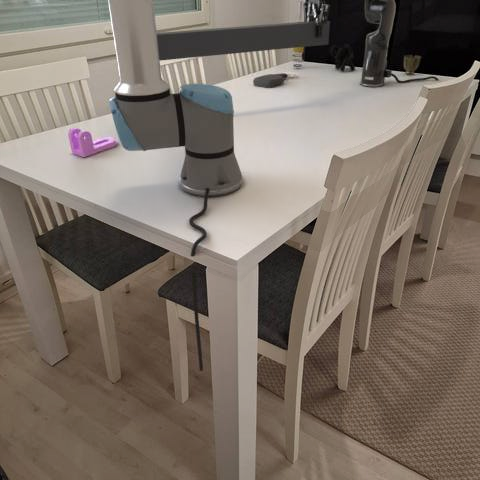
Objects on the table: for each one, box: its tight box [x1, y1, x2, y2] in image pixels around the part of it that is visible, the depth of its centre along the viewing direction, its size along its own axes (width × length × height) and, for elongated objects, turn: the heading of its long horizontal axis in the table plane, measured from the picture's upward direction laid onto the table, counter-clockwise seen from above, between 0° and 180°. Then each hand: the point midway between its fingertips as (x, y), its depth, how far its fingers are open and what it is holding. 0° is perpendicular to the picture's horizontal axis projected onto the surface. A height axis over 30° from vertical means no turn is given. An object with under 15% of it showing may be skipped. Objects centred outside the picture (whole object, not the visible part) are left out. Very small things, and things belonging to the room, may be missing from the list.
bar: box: [156, 20, 331, 62], centre depth 145 cm, size 72×5×7 cm, turn 112°
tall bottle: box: [291, 0, 305, 69], centre depth 218 cm, size 6×6×30 cm
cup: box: [403, 54, 422, 76], centre depth 208 cm, size 8×7×8 cm
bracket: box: [67, 127, 117, 158], centre depth 130 cm, size 13×6×7 cm, turn 143°
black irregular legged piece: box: [330, 43, 356, 72], centre depth 219 cm, size 11×10×15 cm
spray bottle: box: [252, 71, 300, 88], centre depth 201 cm, size 3×11×24 cm
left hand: (136, 59), depth 137 cm, fingers closed on bar, 5 cm apart
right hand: (314, 36), depth 156 cm, fingers closed on bar, 5 cm apart
